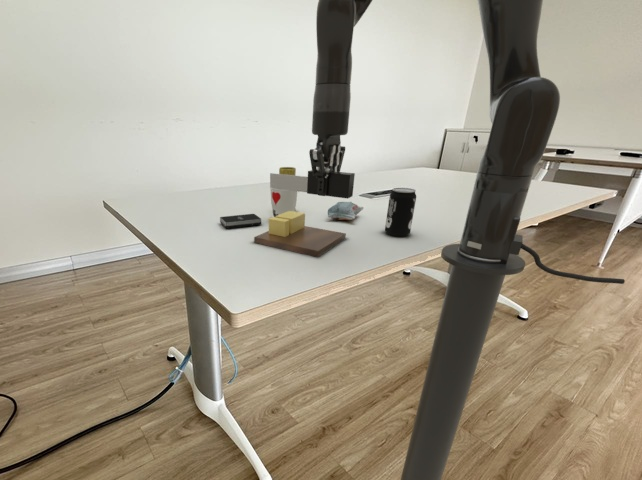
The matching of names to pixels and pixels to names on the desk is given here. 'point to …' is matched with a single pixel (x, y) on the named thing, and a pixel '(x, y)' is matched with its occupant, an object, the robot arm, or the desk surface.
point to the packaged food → (344, 211)
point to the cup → (283, 201)
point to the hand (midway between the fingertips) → (325, 193)
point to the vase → (287, 171)
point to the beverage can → (400, 212)
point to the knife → (315, 183)
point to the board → (303, 240)
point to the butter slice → (279, 226)
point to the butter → (294, 220)
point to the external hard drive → (240, 221)
